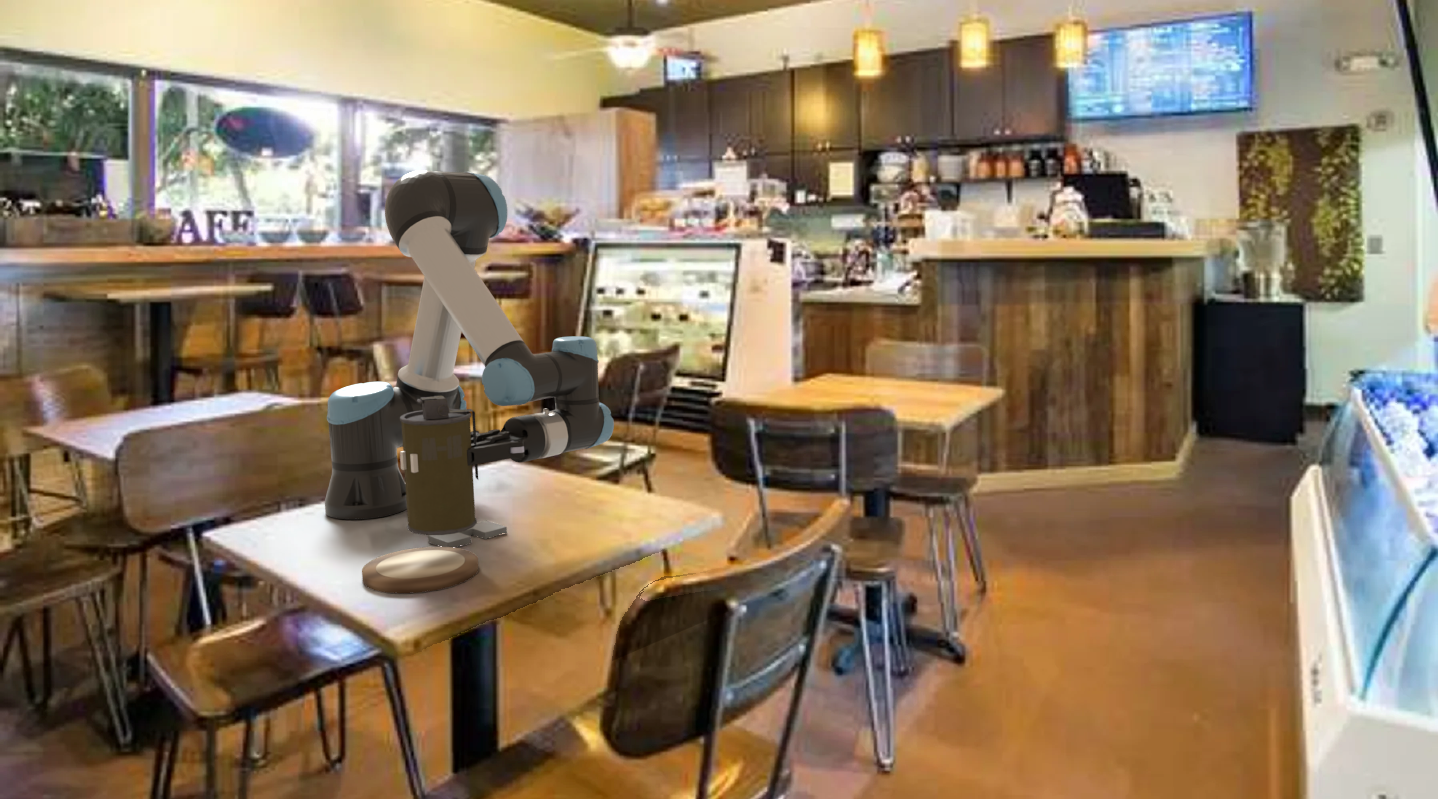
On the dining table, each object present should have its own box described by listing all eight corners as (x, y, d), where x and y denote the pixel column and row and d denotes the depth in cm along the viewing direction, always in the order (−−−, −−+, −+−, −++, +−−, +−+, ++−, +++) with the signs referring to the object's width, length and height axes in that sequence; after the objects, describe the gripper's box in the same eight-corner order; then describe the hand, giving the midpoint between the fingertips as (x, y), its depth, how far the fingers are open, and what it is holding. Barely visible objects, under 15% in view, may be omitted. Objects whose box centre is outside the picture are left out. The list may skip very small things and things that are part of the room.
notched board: (428, 542, 168) (428, 535, 167) (486, 526, 176) (486, 520, 176) (448, 549, 164) (447, 542, 163) (507, 533, 172) (506, 526, 172)
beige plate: (341, 575, 152) (340, 565, 152) (439, 548, 164) (439, 539, 164) (400, 602, 140) (399, 591, 140) (500, 571, 153) (500, 561, 153)
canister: (412, 539, 147) (403, 405, 144) (402, 521, 156) (394, 395, 153) (486, 529, 151) (479, 399, 148) (472, 512, 161) (466, 389, 157)
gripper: (504, 409, 170) (378, 430, 152) (562, 419, 160) (434, 444, 142) (506, 452, 171) (381, 478, 153) (563, 465, 161) (437, 495, 144)
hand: (407, 462), depth 148 cm, fingers closed on canister, 2 cm apart
